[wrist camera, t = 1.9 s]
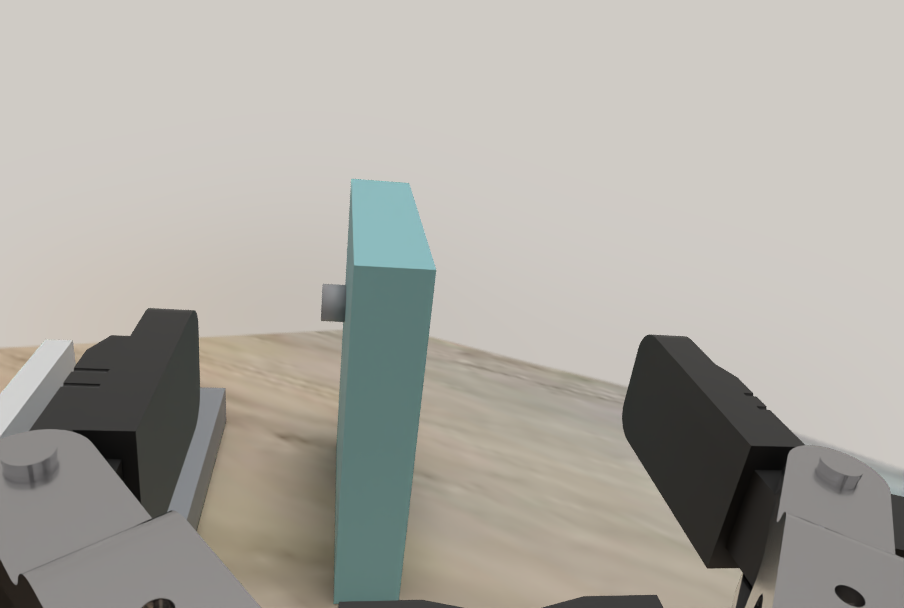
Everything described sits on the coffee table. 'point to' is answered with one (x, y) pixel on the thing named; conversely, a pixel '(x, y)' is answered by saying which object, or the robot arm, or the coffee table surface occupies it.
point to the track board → (47, 375)
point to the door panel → (378, 385)
